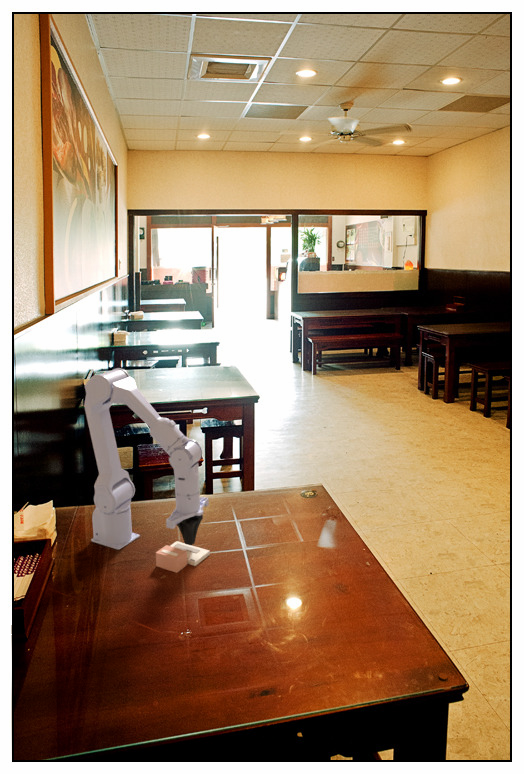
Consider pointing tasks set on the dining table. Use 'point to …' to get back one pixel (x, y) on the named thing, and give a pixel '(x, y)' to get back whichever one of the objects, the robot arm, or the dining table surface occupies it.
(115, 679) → the dining table surface
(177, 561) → the pink rectangular block
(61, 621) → the dining table surface
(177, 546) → the white slotted panel
